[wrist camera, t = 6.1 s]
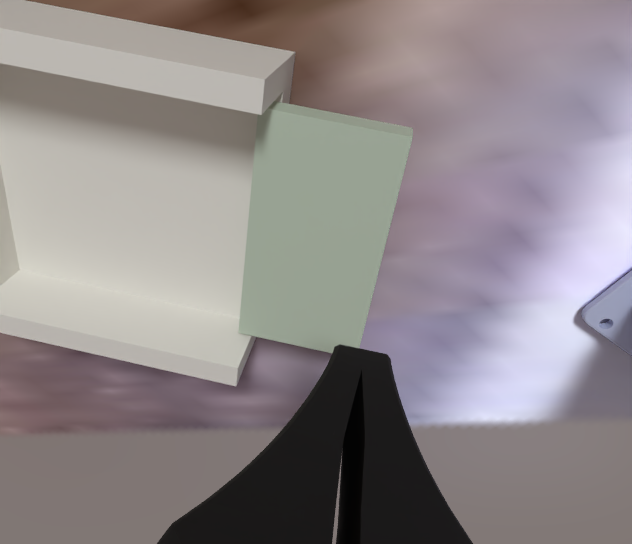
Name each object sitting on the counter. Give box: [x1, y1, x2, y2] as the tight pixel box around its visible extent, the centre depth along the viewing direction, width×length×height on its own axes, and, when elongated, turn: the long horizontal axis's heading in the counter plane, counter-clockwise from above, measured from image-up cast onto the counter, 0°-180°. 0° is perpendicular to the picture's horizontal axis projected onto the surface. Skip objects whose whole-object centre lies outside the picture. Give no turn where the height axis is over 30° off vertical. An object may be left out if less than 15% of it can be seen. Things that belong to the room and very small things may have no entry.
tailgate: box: [238, 101, 413, 353], centre depth 20 cm, size 2×9×5 cm
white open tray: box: [0, 0, 295, 386], centre depth 20 cm, size 12×12×4 cm
